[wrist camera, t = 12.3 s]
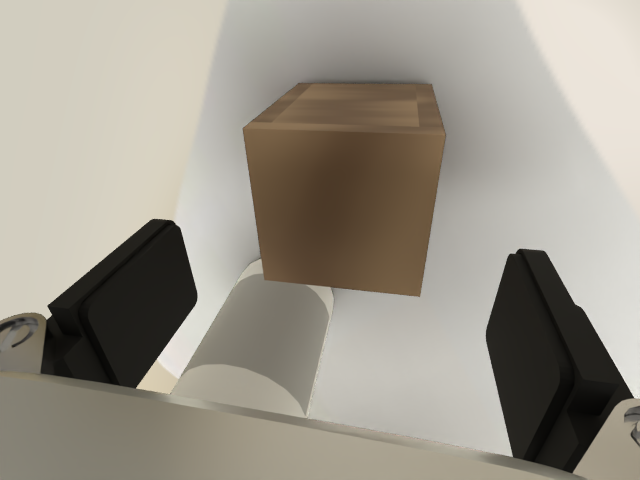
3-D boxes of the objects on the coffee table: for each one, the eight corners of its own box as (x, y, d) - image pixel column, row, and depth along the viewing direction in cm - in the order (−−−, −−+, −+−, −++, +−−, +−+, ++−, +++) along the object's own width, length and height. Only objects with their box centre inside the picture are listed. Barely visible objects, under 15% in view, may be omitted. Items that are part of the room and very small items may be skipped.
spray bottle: (329, 253, 24) (201, 684, 9) (339, 329, 27) (258, 726, 12) (231, 251, 25) (-20, 617, 10) (252, 324, 29) (89, 671, 14)
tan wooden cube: (431, 84, 16) (445, 134, 10) (416, 205, 19) (419, 296, 14) (298, 82, 17) (242, 128, 11) (305, 198, 21) (264, 280, 15)
